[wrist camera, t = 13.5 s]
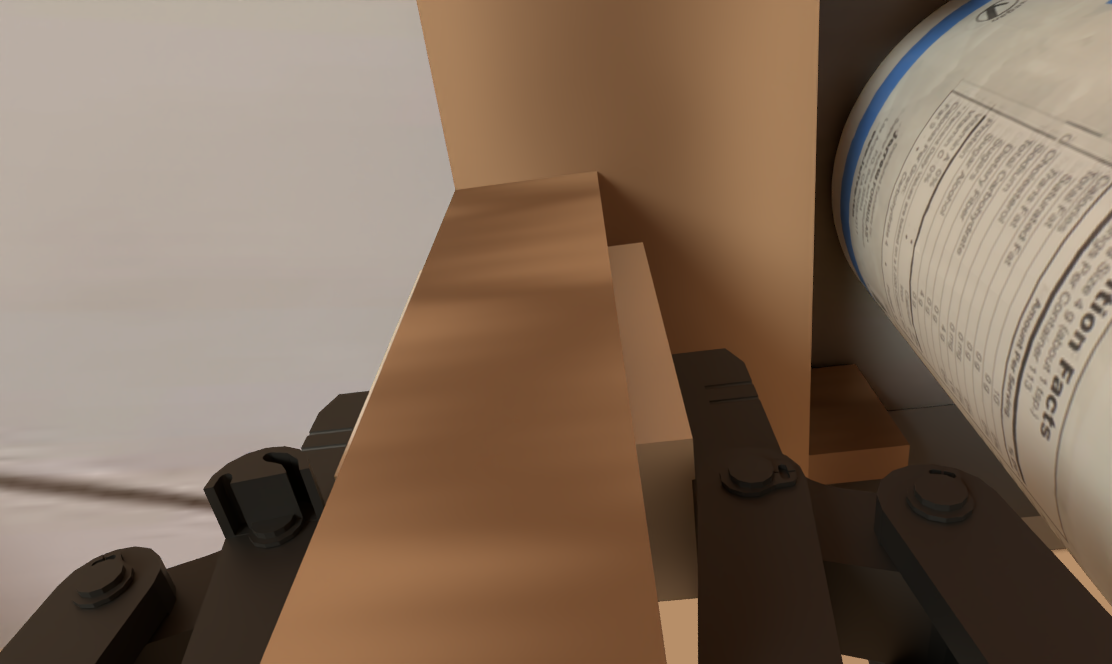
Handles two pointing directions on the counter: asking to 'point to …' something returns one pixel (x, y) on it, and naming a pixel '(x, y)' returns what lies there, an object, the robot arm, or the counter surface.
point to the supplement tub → (1000, 237)
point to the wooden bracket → (577, 329)
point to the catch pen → (959, 459)
